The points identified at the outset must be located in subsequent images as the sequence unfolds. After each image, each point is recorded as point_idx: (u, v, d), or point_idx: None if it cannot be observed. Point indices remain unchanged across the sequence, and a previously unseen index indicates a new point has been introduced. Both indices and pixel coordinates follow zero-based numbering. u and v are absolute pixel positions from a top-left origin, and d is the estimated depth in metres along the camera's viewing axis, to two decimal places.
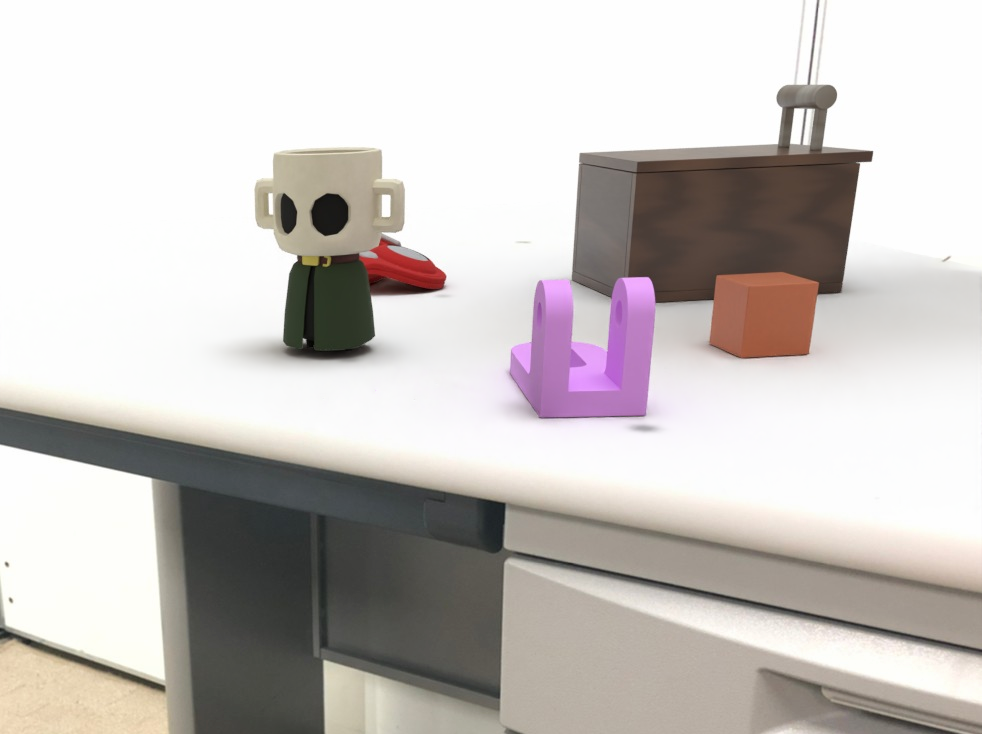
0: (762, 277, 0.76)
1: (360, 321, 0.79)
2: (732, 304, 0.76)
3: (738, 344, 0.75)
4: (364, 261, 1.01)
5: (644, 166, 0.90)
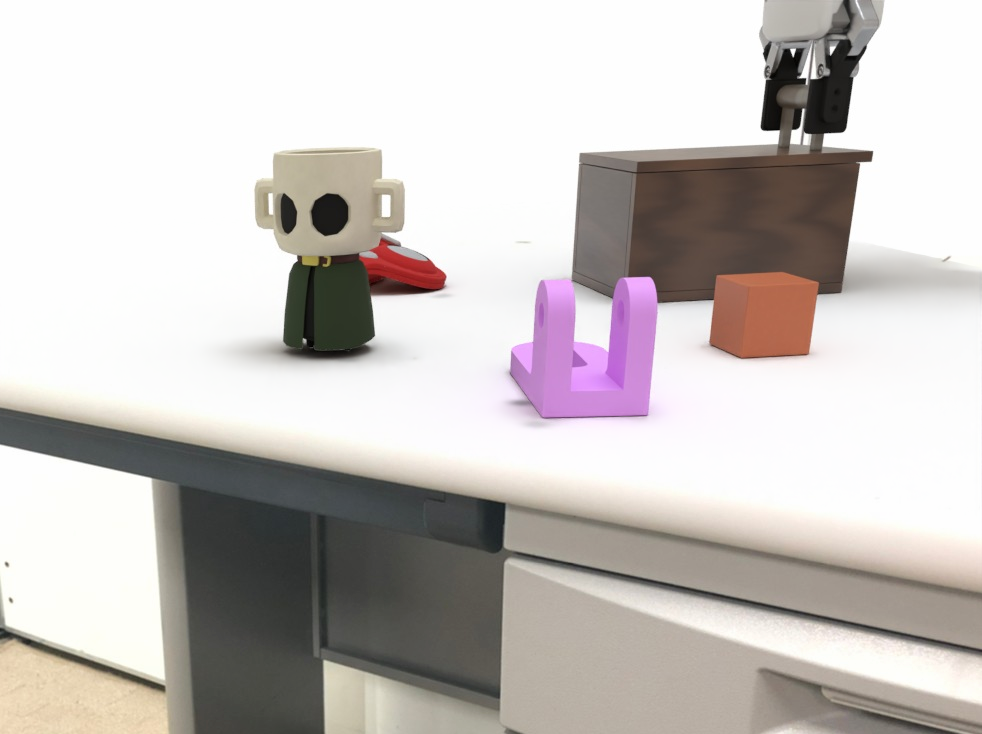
0: (762, 277, 0.76)
1: (360, 321, 0.79)
2: (732, 304, 0.76)
3: (738, 344, 0.75)
4: (364, 261, 1.01)
5: (644, 166, 0.90)
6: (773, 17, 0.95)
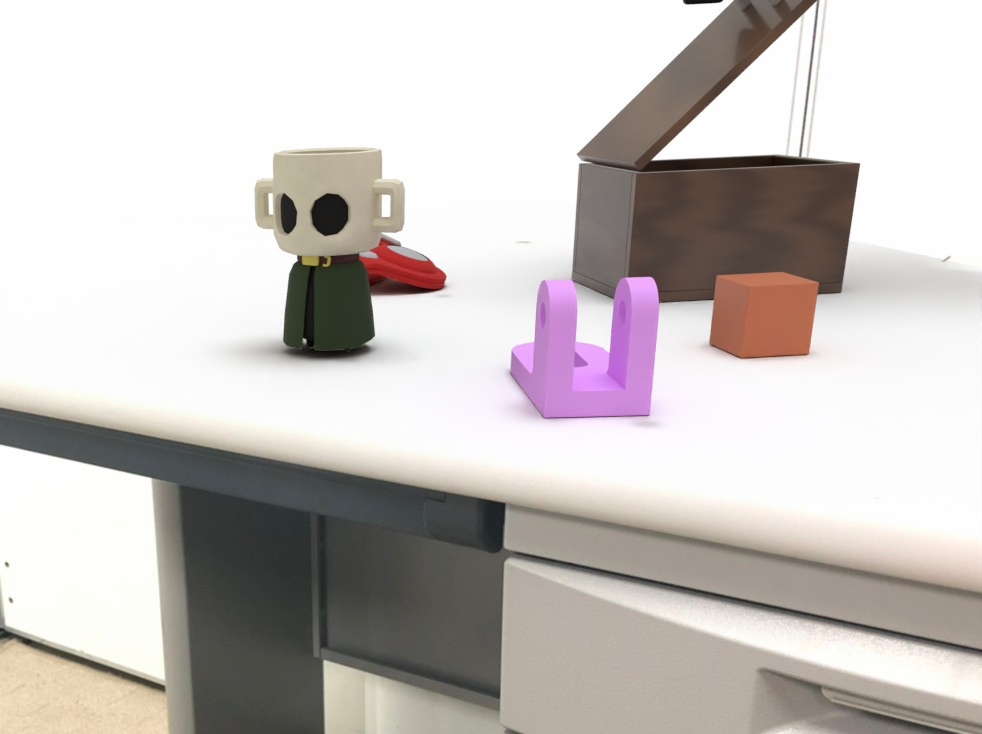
0: (762, 277, 0.76)
1: (360, 321, 0.79)
2: (732, 304, 0.76)
3: (738, 344, 0.75)
4: (364, 261, 1.01)
5: (642, 161, 0.90)
6: None
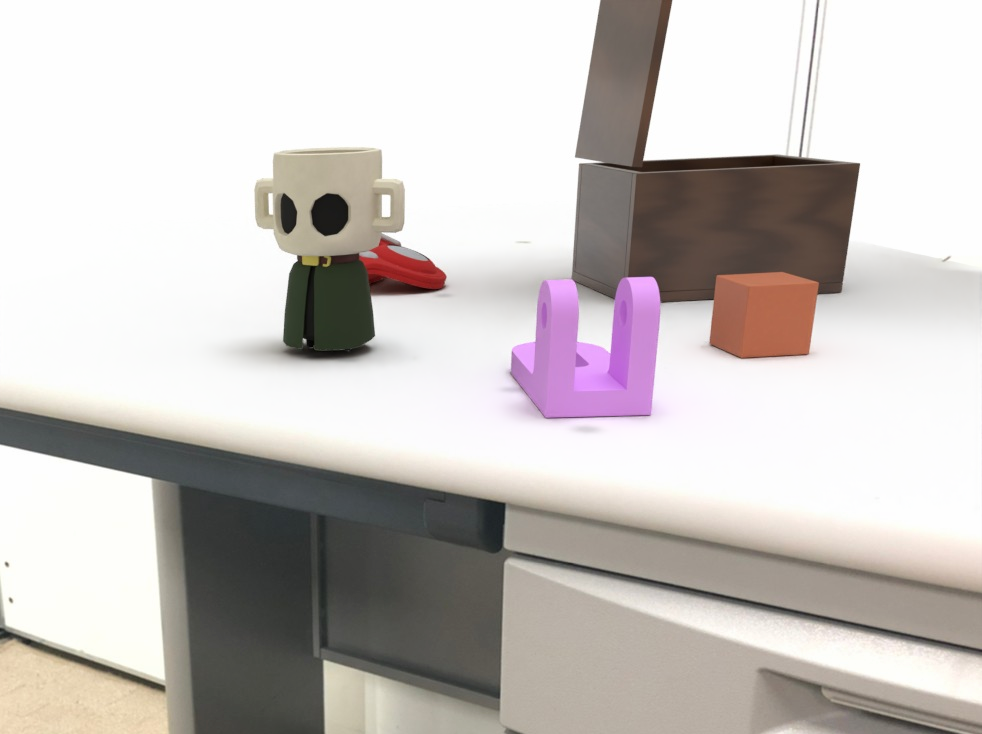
0: (762, 277, 0.76)
1: (360, 321, 0.79)
2: (732, 304, 0.76)
3: (738, 344, 0.75)
4: (364, 261, 1.01)
5: (638, 159, 0.90)
6: None
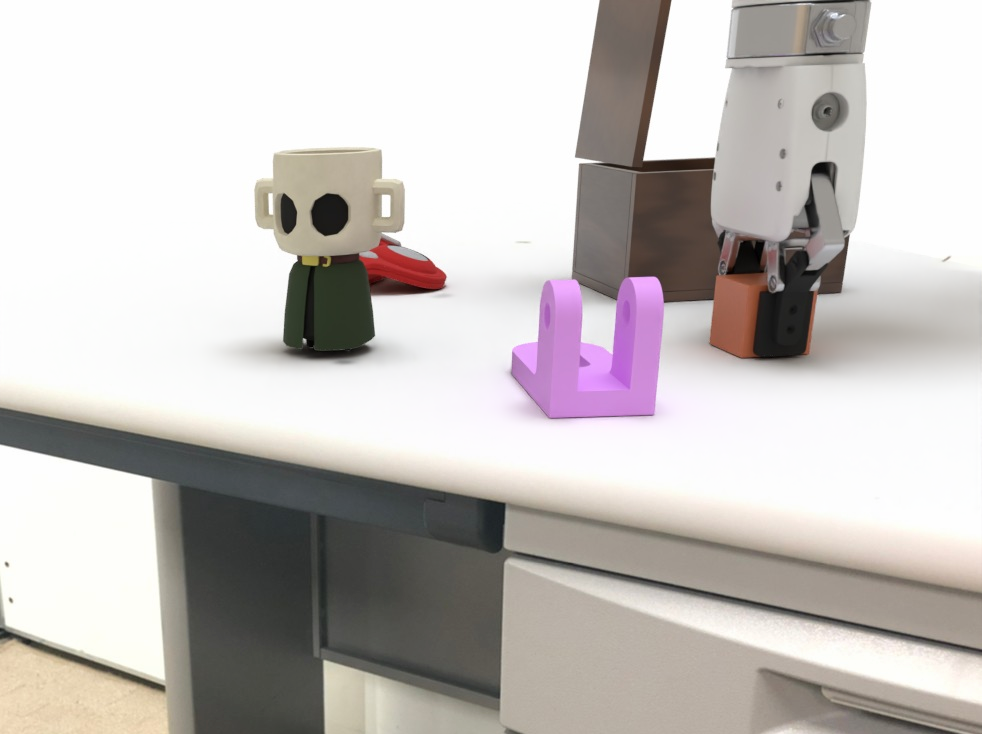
0: (762, 277, 0.76)
1: (360, 321, 0.79)
2: (732, 304, 0.76)
3: (738, 344, 0.75)
4: (364, 261, 1.01)
5: (638, 159, 0.90)
6: (723, 202, 0.76)
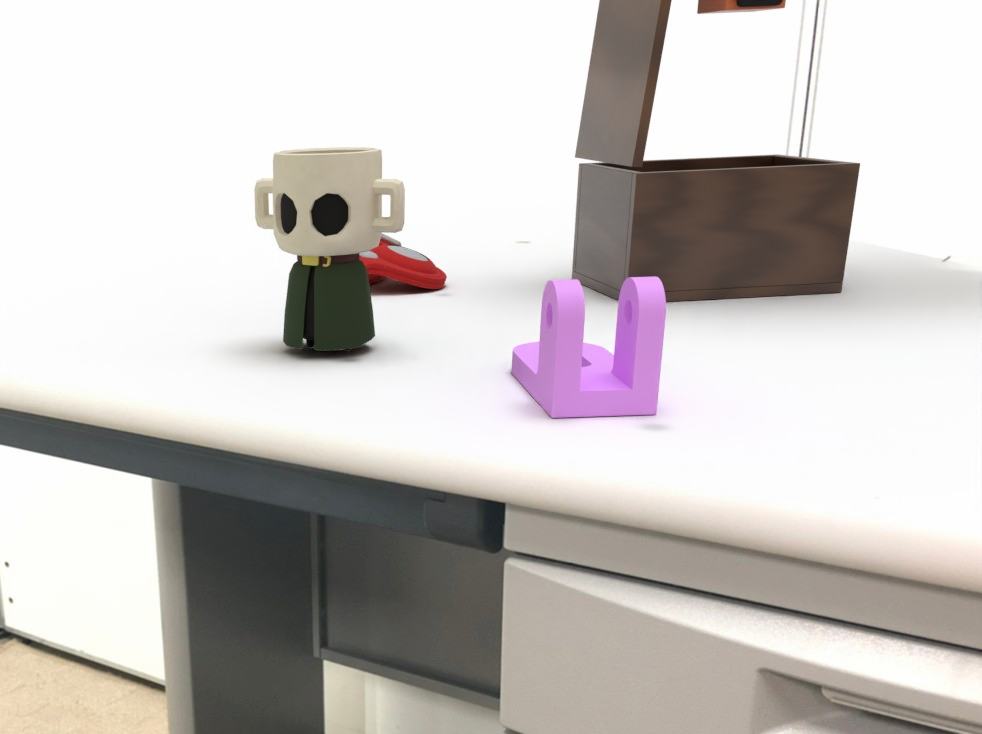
0: None
1: (360, 321, 0.79)
2: None
3: None
4: (364, 261, 1.01)
5: (638, 159, 0.90)
6: None
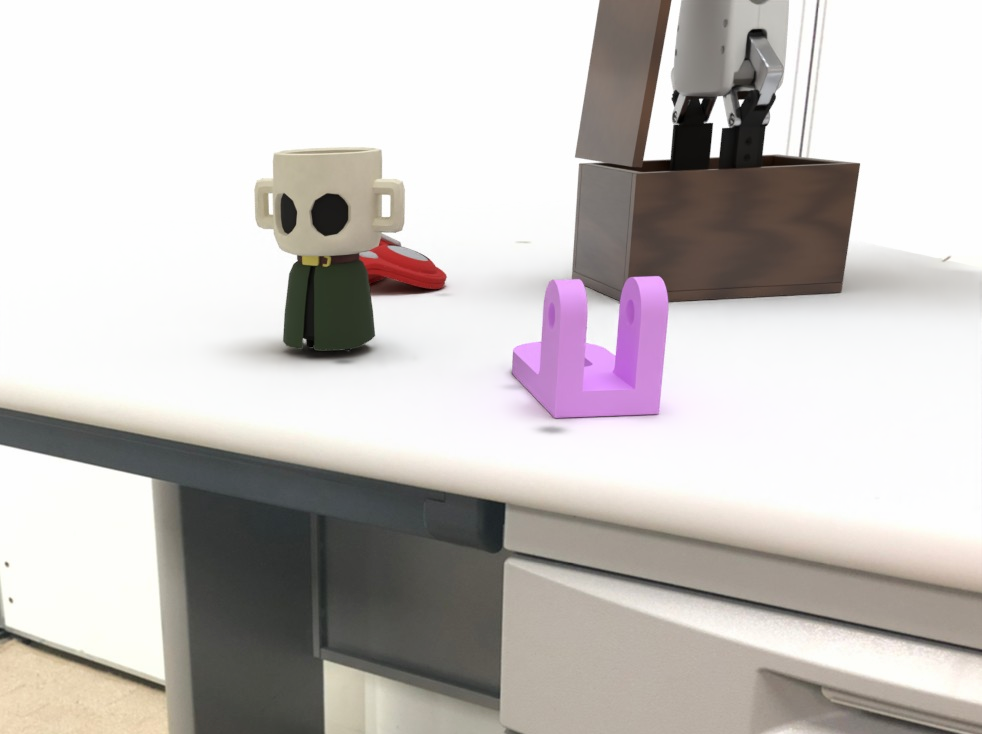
0: None
1: (360, 321, 0.79)
2: None
3: None
4: (364, 261, 1.01)
5: (638, 159, 0.90)
6: (682, 72, 0.96)
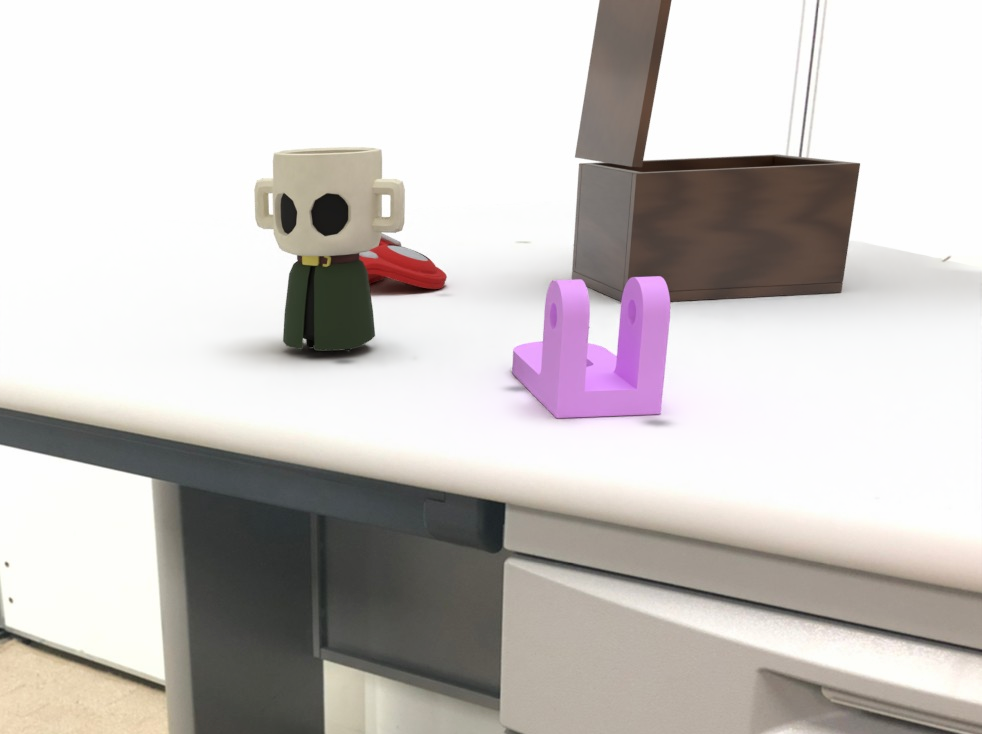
0: None
1: (360, 321, 0.79)
2: None
3: None
4: (364, 261, 1.01)
5: (638, 159, 0.90)
6: None
